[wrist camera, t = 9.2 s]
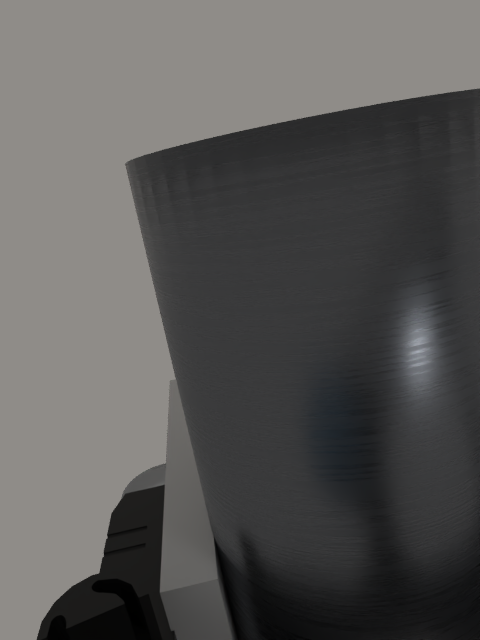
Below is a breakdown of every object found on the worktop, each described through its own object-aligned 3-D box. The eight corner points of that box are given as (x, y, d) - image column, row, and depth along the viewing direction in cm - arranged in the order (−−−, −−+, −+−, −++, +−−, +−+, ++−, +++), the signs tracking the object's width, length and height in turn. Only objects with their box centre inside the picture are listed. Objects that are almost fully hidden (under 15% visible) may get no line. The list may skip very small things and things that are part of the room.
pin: (435, 743, 13) (397, 124, 8) (562, 1020, 8) (647, 56, 4) (280, 787, 12) (140, 169, 8) (332, 1095, 8) (92, 154, 3)
